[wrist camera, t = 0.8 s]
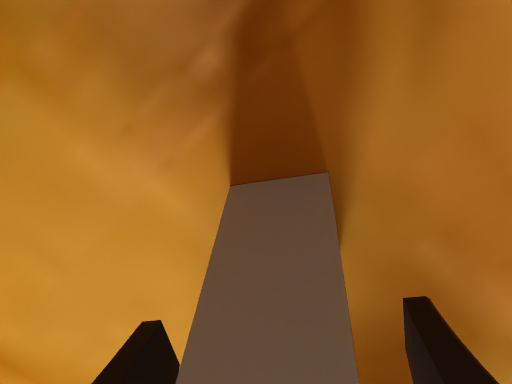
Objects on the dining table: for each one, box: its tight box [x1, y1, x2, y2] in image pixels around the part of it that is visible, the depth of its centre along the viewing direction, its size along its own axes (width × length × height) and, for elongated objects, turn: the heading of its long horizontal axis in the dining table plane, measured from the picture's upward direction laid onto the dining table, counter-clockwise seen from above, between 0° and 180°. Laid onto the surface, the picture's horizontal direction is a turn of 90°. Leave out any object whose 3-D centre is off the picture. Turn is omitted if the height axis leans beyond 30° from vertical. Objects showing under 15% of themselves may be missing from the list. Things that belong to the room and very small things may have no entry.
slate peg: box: [176, 172, 359, 384], centre depth 14 cm, size 4×4×10 cm
